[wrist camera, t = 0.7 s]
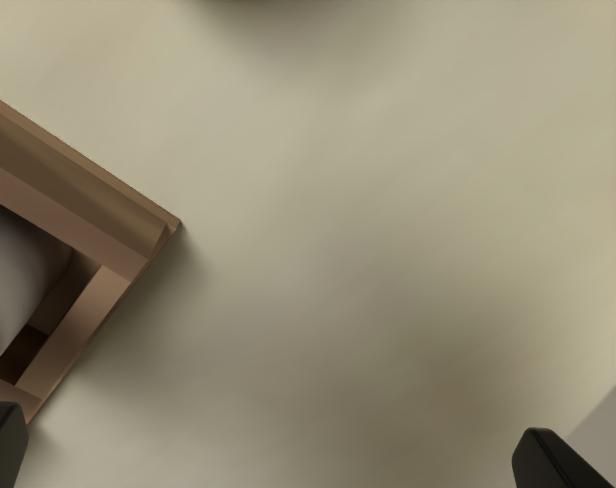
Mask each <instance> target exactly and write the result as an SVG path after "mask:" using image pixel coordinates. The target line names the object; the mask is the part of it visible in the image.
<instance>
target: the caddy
mask: <svg viewBox="0 0 616 488" xmlns="http://www.w3.org/2000/svg"><path fill="white" fill-rule="evenodd" d="M179 222H180V220H179V219H178V218H176V217H175V216H173V215H172V214H170V213H169V212H167V211H166V210H164V209H163V208H161V207H160V206H158V205H157V204H155V203H154V202H152V201H151V200H149V199H148V198H146V197H145V196H143V195H142V194H140V193H139V192H137V191H136V190H134V189H133V188H131V187H130V186H128V185H127V184H125V183H124V182H122V181H121V180H119V179H118V178H116V177H115V176H113V175H112V174H110V173H109V172H107V171H106V170H104V169H103V168H101V167H100V166H98V165H97V164H95V163H94V162H92V161H91V160H89V159H88V158H86V157H85V156H83V155H82V154H80V153H79V152H77V151H76V150H74V149H73V148H71V147H70V146H68V145H67V144H65V143H64V142H62V141H61V140H59V139H58V138H56V137H55V136H53V135H52V134H50V133H49V132H47V131H46V130H44V129H43V128H41V127H40V126H38V125H37V124H35V123H34V122H32V121H31V120H29V119H28V118H26V117H25V116H23V115H22V114H20V113H19V112H17V111H16V110H14V109H13V108H11V107H10V106H8V105H7V104H5V103H4V102H2V101H1V100H0V401H10V402H18V403H19V404H20V405H21V406H22V409H23V413H24V417H25V421H26V425H27V424H28V423H29V421H30V420H31V419H32V417H33V416H34V415H35V413H36V412H37V411H38V410H39V408H40V407H41V406H42V404H43V403H44V402H45V400H46V399H47V398H48V396H49V395H50V394H51V393H52V391H53V390H54V389H55V387H56V386H57V385H58V383H59V382H60V381H61V379H62V378H63V377H64V376H65V374H66V373H67V372H68V370H69V369H70V368H71V366H72V365H73V364H74V362H75V361H76V360H77V359H78V357H79V356H80V355H81V353H82V352H83V351H84V349H85V348H86V347H87V346H88V344H89V343H90V342H91V340H92V339H93V338H94V336H95V335H96V334H97V332H98V331H99V330H100V329H101V327H102V326H103V325H104V323H105V322H106V321H107V319H108V318H109V317H110V315H111V314H112V313H113V312H114V310H115V309H116V308H117V306H118V305H119V304H120V302H121V301H122V300H123V298H124V297H125V296H126V295H127V293H128V292H129V291H130V289H131V288H132V287H133V285H134V284H135V283H136V282H137V280H138V279H139V278H140V276H141V275H142V274H143V272H144V271H145V270H146V268H147V267H148V266H149V265H150V263H151V262H152V261H153V259H154V258H155V257H156V255H157V254H158V253H159V251H160V250H161V249H162V248H163V246H164V245H165V244H166V242H167V241H168V240H169V238H170V237H171V236H172V234H173V233H174V232H175V231H176V229H177V227H178V225H179Z"/></svg>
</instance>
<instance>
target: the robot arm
mask: <svg viewBox="0 0 616 488" xmlns="http://www.w3.org/2000/svg"><path fill="white" fill-rule="evenodd" d="M28 438H29V435H28V429H27V425H26V421H25V417H24V413H23V409H22V406H21V405H20V404H19V403H18V402H10V401H0V488H14V485H15V482H16V479H17V476H18V473H19V470H20V466H21V463H22V460H23V457H24V454H25V451H26V448H27V444H28ZM512 468H513V473H514V477H515V482H516V486H517V488H615V487H613V486H612V485H611V484H610V483H609V482H608V481H607V480H606V479H605V478H604V477H603V476H602V475H600V474H599V473H598V472H597V471H596V470H595V469H594V468H593V467H592V466H591V465H589V464H588V463H587V462H586V461H585V460H584V459H583V458H582V457H581V456H580V455H579V454H578V453H577V452H576V451H574V450H573V449H572V448H571V447H570V446H569V445H568V444H567V443H566V442H565V441H564V440H563V439H561V438H560V437H559V436H558V435H557V434H556V433H555V432H554V431H552V430H550V429H547V428H528V429H527V430H526V431H525V432H524V434H523V436H522V438H521V440H520V441H519V443H518V445H517V447H516V449H515V451H514V453H513V456H512Z"/></svg>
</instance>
